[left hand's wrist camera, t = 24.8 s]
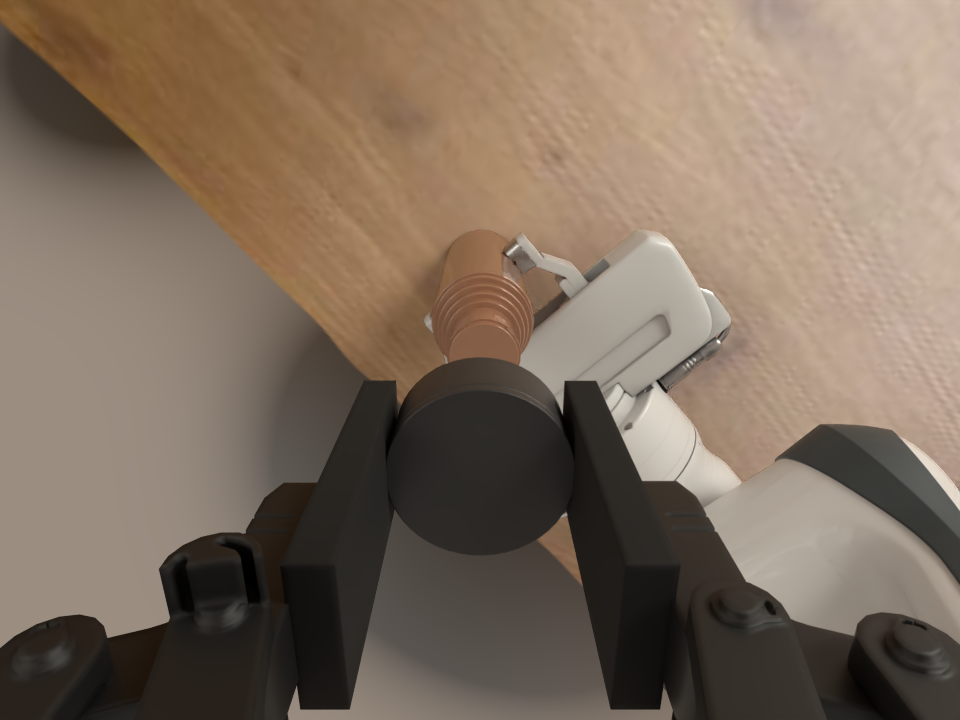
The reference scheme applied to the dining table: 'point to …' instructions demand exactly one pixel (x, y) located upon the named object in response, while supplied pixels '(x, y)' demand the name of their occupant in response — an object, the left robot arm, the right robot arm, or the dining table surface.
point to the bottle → (481, 302)
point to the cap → (480, 458)
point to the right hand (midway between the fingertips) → (471, 277)
